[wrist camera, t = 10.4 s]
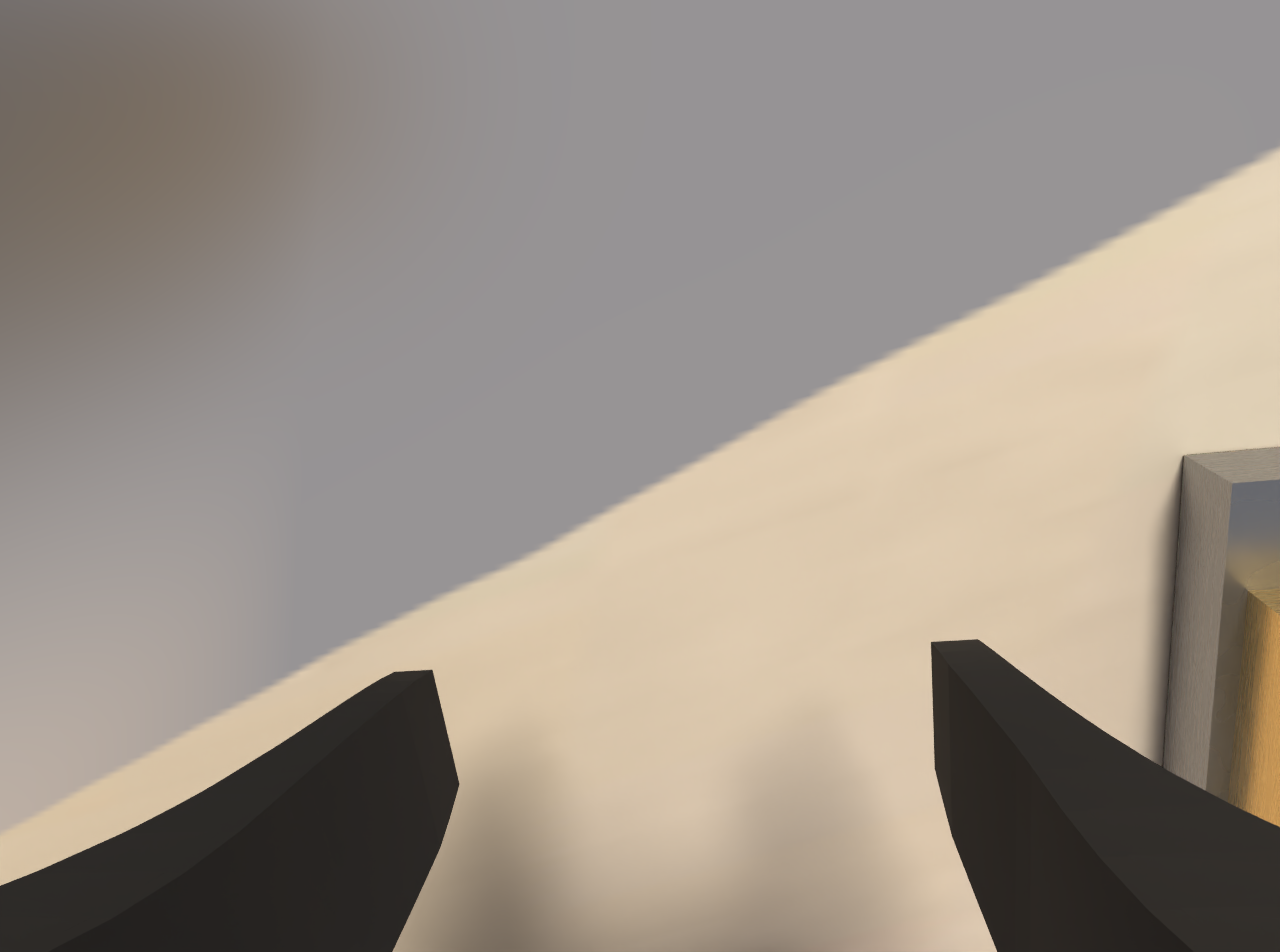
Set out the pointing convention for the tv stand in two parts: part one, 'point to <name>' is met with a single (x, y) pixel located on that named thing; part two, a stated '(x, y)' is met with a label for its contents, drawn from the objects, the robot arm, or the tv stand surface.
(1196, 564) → the grey piece
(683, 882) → the tv stand surface
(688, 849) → the tv stand surface
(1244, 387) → the tv stand surface
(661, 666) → the tv stand surface
